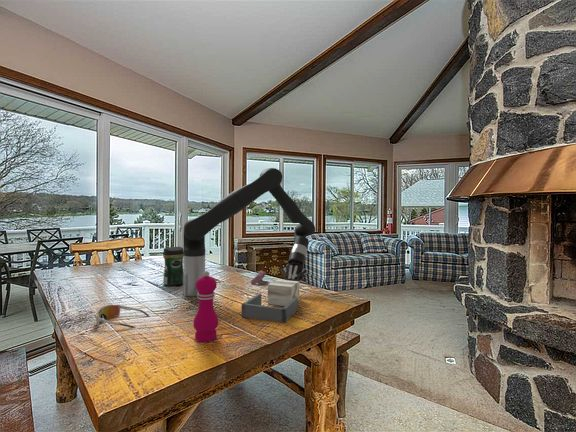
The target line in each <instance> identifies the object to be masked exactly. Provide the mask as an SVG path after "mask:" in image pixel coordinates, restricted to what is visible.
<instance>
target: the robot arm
mask: <svg viewBox="0 0 576 432" xmlns="http://www.w3.org/2000/svg"><path fill="white" fill-rule="evenodd" d="M282 180H283V173H282V172H281V170H280V169H278V168H275V167H270V168H265V169H263V170H261V171H260V174H259V177H258V178H256V179H254V180H253V181H252V182H250V183H248V184H245V185H243V186H241V187H239V188H237V189H235V190H234V191H231V192H230V193H228V194H227V195H225V196H224V197H223V198H222V199H220V200H219V201H218V202H217V203H216V204H214V205H213V207H211V208H210V209H209V210H208V211H206V212H204V213H203V214H201V215H200V216H198V217H194V218H192V219H189V220H186V222H185V223H184V225H183V247H182V248H183V251H184V257H183V284H182V294H183V296H184V297H198V295H197V294H198V293H199V292H198V291H197V289H196V282H197V280H198V279H199V278H201V277H203V273H204V272H205V271H206V244H205V243H206V242H205V241H206V240H205V238H206V235H207V234H208V233H209V232H211V230H213V229H215V228H216V227H217V226H218V225H220V224H221V223H223V222H225V221H226V220H229V219H231V218H232V217H233V216H235V215H237V214H238V213H240V212H241V211H242V210H244V209H245V208H247V207H248V206H249V205H251V204H252V203H254V201H256V200H257V199H258V198H260V197H261V196H262V195H264V194H266V193H267V192H269V194H270V195H271V196H272V197H273V198H274V199H275V201H276V202H277V203H278V204H279V206H280V208H281V209H282V210H283V212H284V213H285V215H286V217H287V218H288V220H289V221H290V222H291V223H292V224H297V225H296V226H295V228H294V229H293V231H294V235H293V236H294V242H293V245H292V248H291V251H290V254H289V258H288V261H287V264H286V265H285V266H284V267H281V268H280V272H281V274H282V275H283V277H284V280H289V281H299V282H300V281H301V280H302V279H304V277H306V276H307V275H308V274H309V273H308V271H307V269H305V267H304V266H305V262H306V258H307V254H308V248H309V239H308V238H307V237H309V236H312V235H314V234H315V232H316V226H315V224H314V222H313V221H312V220H311V219H310V218H309V217H307V216H306V215H305V214H304V213H303V212H302V210H301V209H300V207H299V206H298V204H297V203H296V202H295V201H294V199H293V198H292V197H290V195H288V194H287V192H286V191H285V189H284V188H283V187H282V185H281V183H282ZM287 272H288V274H287Z"/></svg>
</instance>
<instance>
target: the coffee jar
mask: <svg viewBox="0 0 576 432" xmlns="http://www.w3.org/2000/svg"><path fill="white" fill-rule="evenodd" d="M162 256H163V259H164V271H163V281H162V283H163V285H164V286H169V287H172V286H179V285H183V272H184V247H182V246H170V247H164V248H163V253H162Z"/></svg>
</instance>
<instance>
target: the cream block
mask: <svg viewBox="0 0 576 432" xmlns="http://www.w3.org/2000/svg"><path fill="white" fill-rule="evenodd" d="M295 297H298V302H299V301H300V281H289V280H286V279H278V278H277V279H276V280H273V281H272V282H270V283H268V284H267V305H274V306H282V307H285V306H286V305H287V304H288V303H289V302H290V301H291V300H293V299H294V298H295Z"/></svg>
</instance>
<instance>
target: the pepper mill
mask: <svg viewBox="0 0 576 432" xmlns="http://www.w3.org/2000/svg"><path fill="white" fill-rule="evenodd" d="M217 285H218V284H217V281H216V278H214V277H213V276H210V272H209V270H205V272H204V273H203V277H201V278H199V279H198V280H197V282H196V289H197V291H198V292H199V293H198V294H197V295H198V296H196V297H197V299H198V302H199V304H198V310H197V312H196V314H195V316H194V318H193V328H194V330H195V333H194V338H195V341H196V342H199V343H208V342H213V341H214V340H216V339H217V335H218V332H217V328H218V326H219V318H218V315H217V312H216V310H215V308H214V298H215V290H216V289H217Z"/></svg>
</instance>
